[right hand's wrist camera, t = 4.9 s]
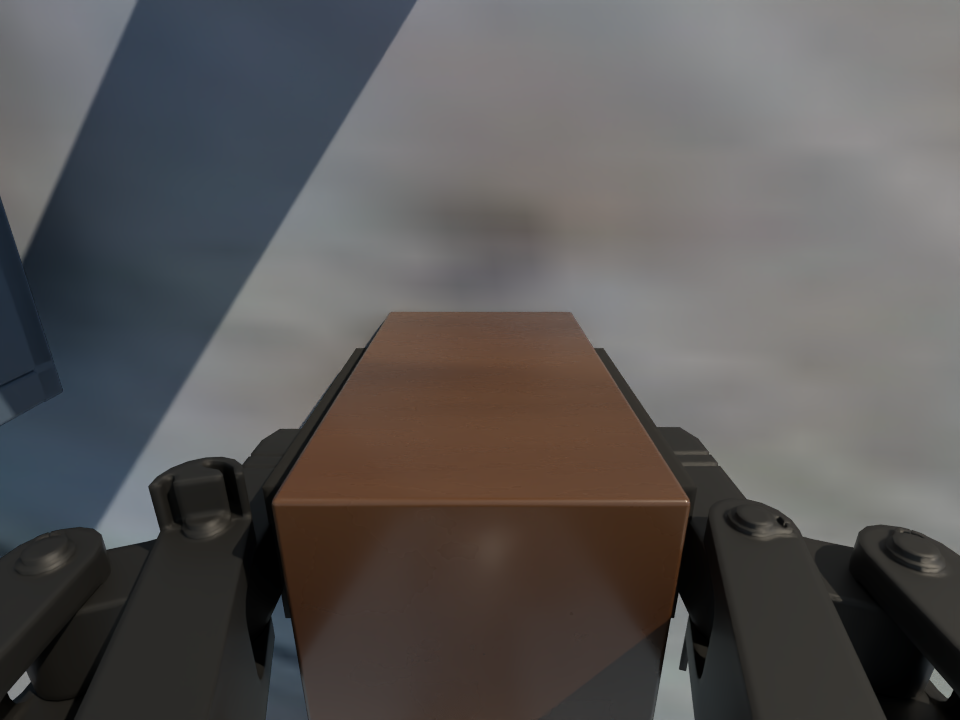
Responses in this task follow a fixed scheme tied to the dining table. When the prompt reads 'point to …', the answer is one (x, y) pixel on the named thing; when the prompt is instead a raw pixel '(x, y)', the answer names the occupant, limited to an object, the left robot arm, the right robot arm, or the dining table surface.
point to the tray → (21, 337)
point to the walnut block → (480, 531)
